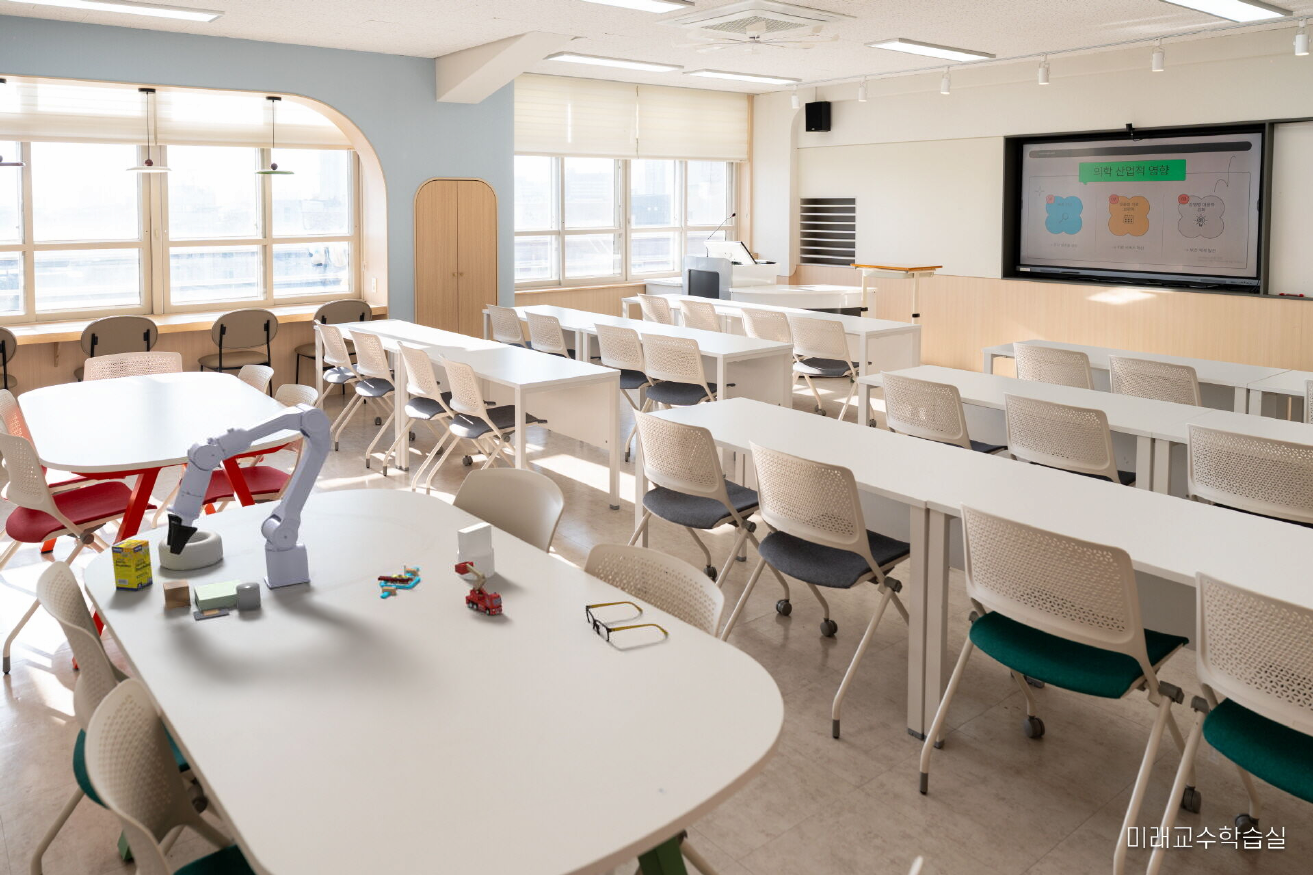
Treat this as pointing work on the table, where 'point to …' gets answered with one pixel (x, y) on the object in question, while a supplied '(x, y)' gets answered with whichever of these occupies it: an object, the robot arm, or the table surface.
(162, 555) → the donut shape
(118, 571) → the supplement box
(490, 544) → the base with upright slab
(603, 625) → the eyeglasses
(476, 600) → the toy fire truck
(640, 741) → the table surface
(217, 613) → the card
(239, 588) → the grey cylinder
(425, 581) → the table surface
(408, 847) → the table surface
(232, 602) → the sage slab
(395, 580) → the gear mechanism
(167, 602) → the walnut cube
